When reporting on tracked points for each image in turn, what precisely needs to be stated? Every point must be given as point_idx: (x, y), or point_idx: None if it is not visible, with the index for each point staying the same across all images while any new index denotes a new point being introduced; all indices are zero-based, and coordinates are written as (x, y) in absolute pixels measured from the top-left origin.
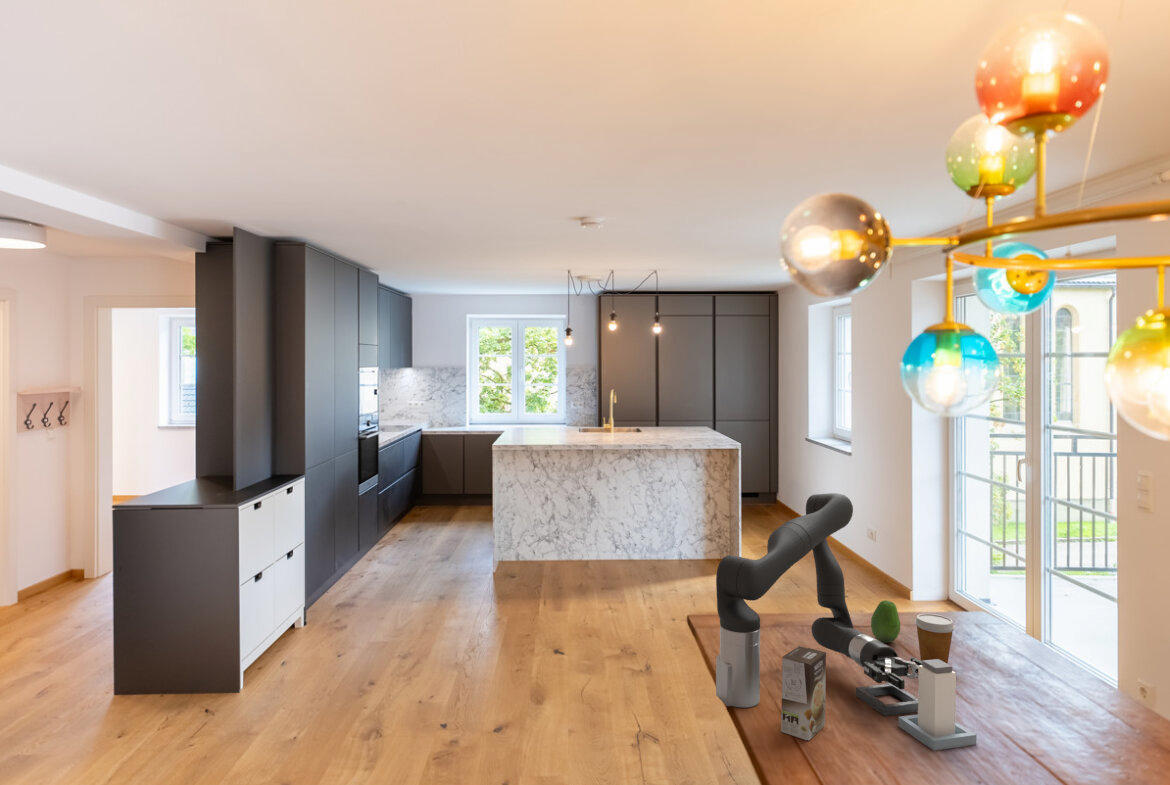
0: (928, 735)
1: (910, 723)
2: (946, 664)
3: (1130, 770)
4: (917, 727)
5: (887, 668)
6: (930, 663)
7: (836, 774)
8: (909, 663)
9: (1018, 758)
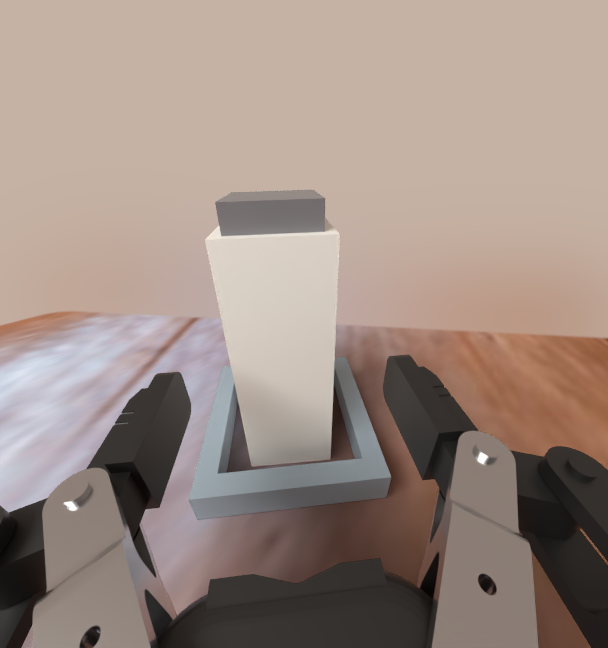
0: (345, 373)
1: (365, 429)
2: (237, 194)
3: (74, 318)
4: (355, 405)
5: (490, 518)
6: (304, 194)
7: (566, 337)
8: (138, 600)
9: (197, 346)
